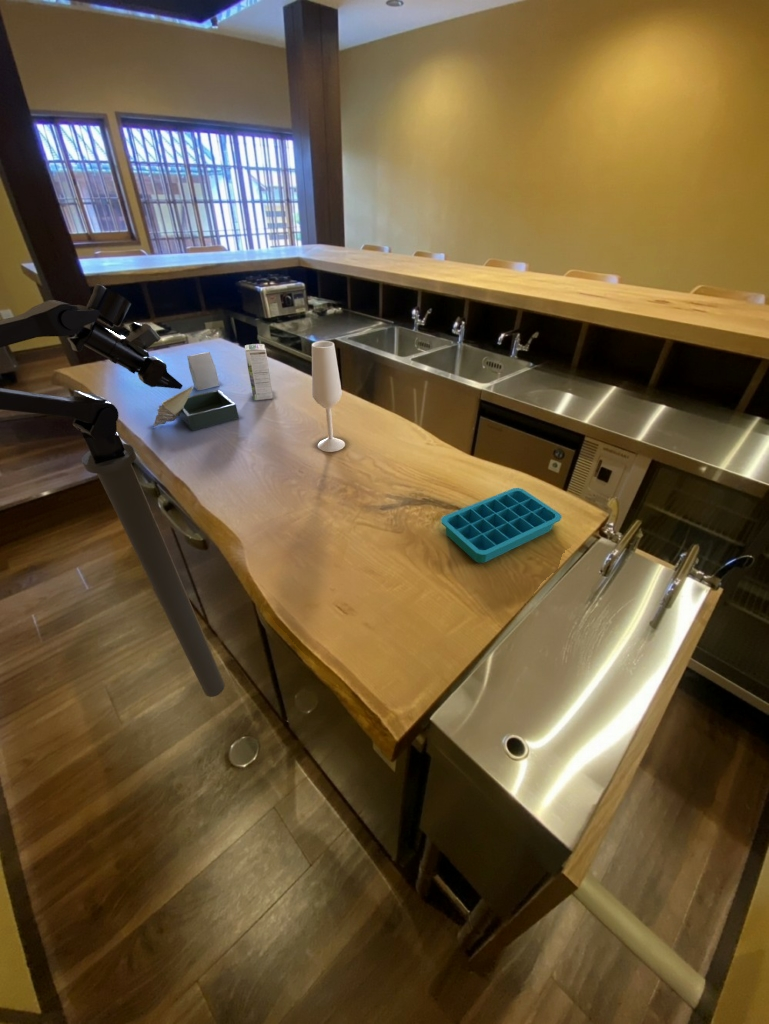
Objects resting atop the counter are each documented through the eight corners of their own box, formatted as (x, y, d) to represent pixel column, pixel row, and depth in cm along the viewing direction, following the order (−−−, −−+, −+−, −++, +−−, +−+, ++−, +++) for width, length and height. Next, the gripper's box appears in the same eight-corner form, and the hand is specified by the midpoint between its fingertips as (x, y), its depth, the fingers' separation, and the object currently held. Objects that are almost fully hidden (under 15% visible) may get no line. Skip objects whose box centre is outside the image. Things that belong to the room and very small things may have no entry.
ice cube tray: (436, 531, 78) (437, 518, 77) (515, 498, 87) (518, 486, 85) (478, 569, 71) (480, 556, 69) (560, 529, 79) (565, 517, 77)
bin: (192, 431, 110) (187, 416, 107) (178, 414, 118) (173, 400, 115) (239, 418, 116) (235, 404, 113) (222, 403, 124) (219, 389, 121)
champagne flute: (350, 445, 104) (345, 344, 89) (328, 454, 100) (318, 351, 86) (334, 435, 108) (326, 337, 93) (312, 444, 104) (300, 343, 90)
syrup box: (252, 393, 129) (243, 344, 120) (272, 391, 131) (264, 343, 122) (253, 401, 125) (244, 350, 116) (274, 398, 126) (266, 348, 117)
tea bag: (219, 385, 134) (212, 353, 128) (198, 390, 131) (189, 357, 125) (215, 382, 137) (207, 350, 131) (194, 387, 133) (185, 354, 127)
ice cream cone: (190, 382, 112) (151, 421, 114) (180, 377, 107) (140, 418, 109) (203, 396, 113) (164, 435, 114) (194, 392, 107) (153, 433, 109)
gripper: (141, 321, 88) (206, 363, 101) (116, 306, 99) (177, 345, 112) (115, 367, 89) (182, 403, 101) (92, 347, 100) (155, 382, 112)
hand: (174, 381), depth 107 cm, fingers open, 9 cm apart
